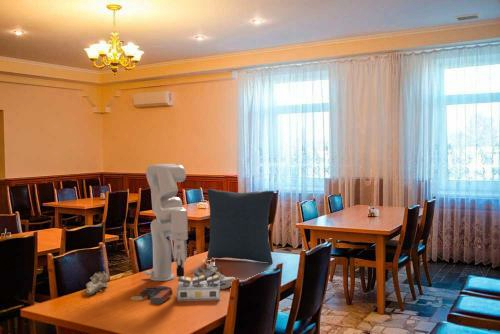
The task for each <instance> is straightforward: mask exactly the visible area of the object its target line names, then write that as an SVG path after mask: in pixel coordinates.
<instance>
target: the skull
mask: <svg viewBox="0 0 500 334" xmlns="http://www.w3.org/2000/svg"><path fill="white" fill-rule="evenodd" d="M89 279H90V280H91V281H89V282H87V283H86V284H85V286H86V289H85V293H86V295H87V296H88V297H92V296H93V295H94V294H96V293H99V292H101V291H100V290H104V291H105V290H107V289H108V280H110V278H109V276H108V274H107V273H106V272H105V271H98V272H95V273H94V274H93V276H91V277H90V278H89ZM98 291H99V292H98ZM95 292H96V293H95ZM91 295H92V296H91Z"/></svg>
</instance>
